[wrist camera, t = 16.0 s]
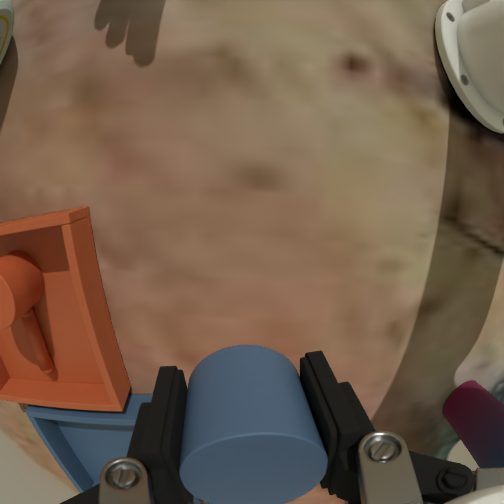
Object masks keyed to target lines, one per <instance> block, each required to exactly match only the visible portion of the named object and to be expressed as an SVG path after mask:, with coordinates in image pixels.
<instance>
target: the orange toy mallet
mask: <svg viewBox="0 0 504 504" xmlns="http://www.w3.org/2000/svg"><path fill="white" fill-rule="evenodd" d="M43 291H44V279H43V275H42V271H41V269H40V267H39V265H38V264H37V262H36V261H35V259H34V258H33V257H32V256H30V255H29V254H28V253H26V252H23V251H20V250H15V251H12V252H10V253H7V254H5V255H3V256H1V257H0V329H7V328H9V327H10V326H11V325H12V324H13V323H14V322H16V321H17V320H18V319H19V318H20V317H21V320H22V323H23V326H24V329H25V332H26V335H27V338H28V340H29V343H30V346H31V348H32V351H33V353H34V356H35V358H36V361H37V363H38V366H39V368H40V370H41V372H42V373H43V374H45V375H50V374H52V372H53V371H54V365H53V363H52V360H51V357H50V355H49V352H48V350H47V347H46V344H45V341H44V339H43V336H42V333H41V330H40V327H39V324H38V321H37V318H36V315H35V311H34V309H33V308H32V307H33V306H34V305H35V304H36V303H37V302H38V301H39V300H40V299H41V297H42V295H43Z"/></svg>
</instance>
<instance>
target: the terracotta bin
mask: <svg viewBox="0 0 504 504" xmlns="http://www.w3.org/2000/svg"><path fill="white" fill-rule="evenodd" d="M15 250H20V251H23V252H26V253H28V254H29V255H30V256H32V257H33V258H34V259H35V261H36V262H37V264H38V265H39V267H40V269H41V271H42V275H43V279H44V291H43V295H42V297H41V299H40V300H39V301H38V302H37V303H36V304H35V305H34V306H33V307H32V308H33V309H34V311H35V315H36V318H37V321H38V324H39V327H40V330H41V333H42V336H43V339H44V341H45V344H46V347H47V350H48V352H49V355H50V357H51V360H52V363H53V365H54V371H53V372H52V374H50V375H45V374H43V373H42V372H41V370H40V368H39V366H38V363H37V361H36V358H35V356H34V353H33V351H32V348H31V346H30V343H29V340H28V338H27V335H26V332H25V329H24V326H23V323H22V320H21V317H20V318H19V319H18V320H17V321H16V322H14V323H13V324H12V325H11V326H10V327H9V328H7V329H0V400H6V401H12V402H18V403H25V404H32V405H39V406H47V407H57V408H67V409H79V410H95V411H123V408H124V405H125V402H126V399H127V396H128V393H129V389H130V387H131V385H130V382H129V379H128V376H127V373H126V370H125V367H124V364H123V360H122V357H121V354H120V351H119V347H118V344H117V340H116V337H115V333H114V330H113V326H112V322H111V318H110V315H109V311H108V307H107V303H106V298H105V294H104V290H103V285H102V281H101V276H100V271H99V267H98V262H97V256H96V251H95V246H94V240H93V234H92V228H91V221H90V214H89V207H88V206H86V207H80V208H74V209H69V210H63V211H58V212H52V213H47V214H42V215H37V216H31V217H27V218H22V219H17V220H12V221H7V222H3V223H0V257H1V256H3V255H5V254H7V253H10V252H12V251H15Z"/></svg>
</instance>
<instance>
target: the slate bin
mask: <svg viewBox="0 0 504 504" xmlns="http://www.w3.org/2000/svg"><path fill="white" fill-rule="evenodd" d="M152 396H153V394H128V396H127V399H126V402H125V405H124V408H123V411H95V410H79V409H67V408H57V407H47V406H39V405H32V404H29V406H28V407H27V409H26V410H25V412H26V413H27V415H28V417H29V419H30V420H31V422H32V424H33V425H34V427H35V429H36V430H37V432H38V434H39V435H40V437H41V439H42V440H43V442H44V443H45V445H46V446H47V448H48V449H49V451H50V452H51V454H52V455H53V457H54V458H55V460H56V461H57V463H58V464H59V465H60V467H61V468H62V470H63V471H64V472H65V474H66V475H67V476H68V478H69V479H70V480H71V482H72V483H73V484H74V486H75V487H76V488H77V489H78V491H79V492H80V493H82V492H84V491H86V490H88V489H90V488H92V487H93V486H95V485H97V484H99V483H100V474H101V470H102V468H103V467H104V466H105V465H106V464H107V463H108V462H109V461H111V460H113V459H116V458H120V457H126V456H127V452H128V448H129V445H130V441H131V437H132V433H133V429H134V426H135V422H136V419H137V415H138V411H139V408H140V405H141V403H142V402H151V400H152ZM188 504H203V500H201V499H198V498H197V497H195V496H194V498H193V502H192V503H189V502H188Z"/></svg>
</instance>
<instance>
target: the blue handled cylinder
mask: <svg viewBox="0 0 504 504" xmlns="http://www.w3.org/2000/svg"><path fill="white" fill-rule="evenodd" d="M327 463H328V456H327V453H326V450H325V448H324V445H323V442H322V439H321V436H320V433H319V431H318V428H317V425H316V422H315V419H314V417H313V414H312V411H311V408H310V405H309V402H308V400H307V397H306V394H305V391H304V388H303V386H302V383H301V380H300V377H299V374H298V372H297V370H296V368H295V366H294V365H293V364H292V363H291V362H290V360H289V359H287V358H286V357H285V356H283V355H282V354H280V353H278V352H277V351H274V350H272V349H269V348H266V347H262V346H256V345H238V346H232V347H228V348H224V349H221V350H219V351H216V352H214V353H212V354H210V355H209V356H207V357H206V358H204V359H203V360H202V361H201V362H200V363H199V364H198V365H197V366H196V367H195V369H194V370H193V372H192V374H191V376H190V379H189V383H188V391H187V399H186V408H185V417H184V426H183V435H182V445H181V455H180V465H179V475H180V478H181V481H182V483H183V485H184V487H185V488H186V489H187V490H188V491H189V492H190V493H191V494H192V495H194V496H195V497H197V498H198V499H201V500H203V501H205V502H207V503H210V504H283V503H286V502H289V501H292V500H294V499H296V498H298V497H300V496H302V495H304V494H306V493H307V492H309V491H310V490H312V489H313V488H314V487H315V486H316V485H317V484H318V483H319V482H320V481H321V480H322V479H323V477H324V476H325V474H326V470H327Z"/></svg>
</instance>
